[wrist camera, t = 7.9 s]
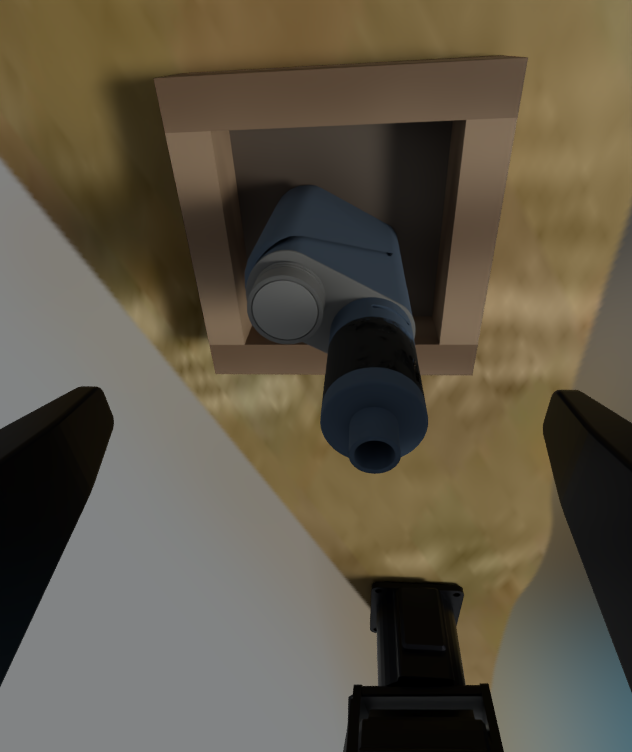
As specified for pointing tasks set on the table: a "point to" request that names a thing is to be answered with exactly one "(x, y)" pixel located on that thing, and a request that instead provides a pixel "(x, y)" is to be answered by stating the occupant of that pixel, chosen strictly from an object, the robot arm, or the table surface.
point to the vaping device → (343, 320)
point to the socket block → (347, 185)
